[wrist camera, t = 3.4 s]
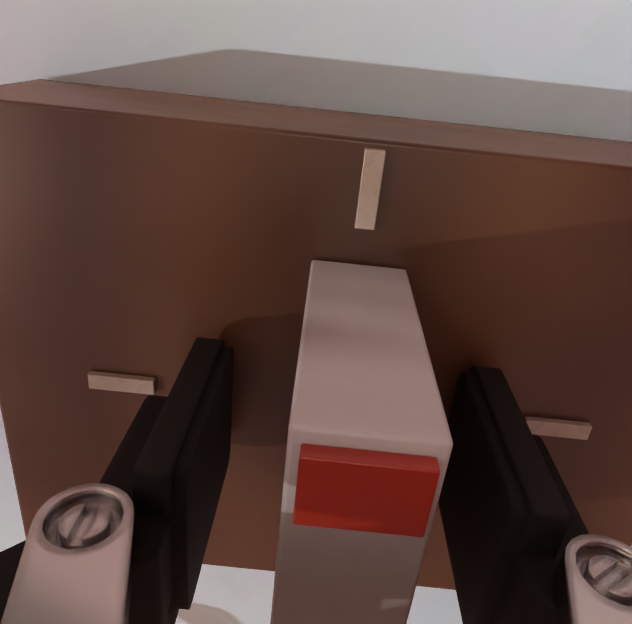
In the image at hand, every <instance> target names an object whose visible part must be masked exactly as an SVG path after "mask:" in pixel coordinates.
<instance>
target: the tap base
mask: <svg viewBox="0 0 632 624" xmlns="http://www.w3.org/2000/svg"><path fill="white" fill-rule="evenodd" d="M313 260H320V261H329V262H339V263H348V264H358V265H367V266H377V267H386V268H396V269H404V270H406V272H407V275H408V279H409V283H410V286H411V290H412V294H413V297H414V301H415V305H416V308H417V312H418V316H419V319H420V323H421V327H422V331H423V334H424V338H425V342H426V345H427V349H428V353H429V356H430V360H431V364H432V367H433V371H434V375H435V378H436V382H437V386H438V389H439V393H440V397H441V400H442V404H443V408H444V412H445V415H446V419H447V423H448V419H449V415H450V411H451V407H452V403H453V399H454V395H455V391H456V387H457V383H458V379H459V375H460V373H461V372H462V371H463V372H469V370H470V368H471V367H472V366H481V367H491V368H499V369H501V370H502V372H503V374H504V376H505V378H506V380H507V382H508V385H509V387H510V389H511V391H512V393H513V395H514V397H515V399H516V401H517V403H518V406H519V408H520V410H521V412H522V414H523V416H524V418H525V420H526V422H527V424H528V427H529V429H530V431H531V433H532V435H537V436H539V437H541V439H542V440H543V442H544V443H545V445H546V447H547V449H548V451H549V453H550V456H551V458H552V460H553V462H554V464H555V466H556V468H557V470H558V472H559V474H560V476H561V478H562V480H563V482H564V484H565V486H566V488H567V490H568V492H569V494H570V496H571V498H572V500H573V502H574V504H575V506H576V508H577V510H578V512H579V514H580V516H581V518H582V520H583V522H584V524H585V526H586V528H587V530H588V532H589V534H597V535H602V536H608V537H610V538H613V539H616V540H618V541H621V542H623V543H625V544H626V545H628V546H630V547H631V545H632V142H625V141H616V140H606V139H597V138H587V137H578V136H569V135H559V134H550V133H540V132H531V131H522V130H512V129H503V128H493V127H484V126H474V125H465V124H456V123H446V122H437V121H427V120H418V119H409V118H399V117H390V116H380V115H371V114H362V113H352V112H343V111H333V110H324V109H314V108H305V107H296V106H286V105H277V104H267V103H258V102H249V101H239V100H230V99H220V98H211V97H202V96H192V95H183V94H173V93H164V92H154V91H145V90H136V89H126V88H117V87H107V86H98V85H89V84H79V83H70V82H60V81H51V80H42V79H39V80H32V81H25V82H18V83H11V84H4V85H0V407H1V412H2V417H3V422H4V428H5V433H6V438H7V443H8V448H9V453H10V458H11V463H12V469H13V474H14V479H15V484H16V489H17V494H18V499H19V505H20V510H21V515H22V520H23V525H24V530H25V535H26V539H27V536H28V533H29V529H30V526H31V523H32V521H33V519H34V517H35V515H36V513H37V511H38V510H39V509H40V508H41V507H42V506H43V505H44V503H45V502H46V501H47V500H49V499H50V498H52V497H53V496H55V495H56V494H58V493H60V492H61V491H64V490H66V489H69V488H71V487H74V486H77V485H83V484H89V483H99V482H100V480H101V479H102V477H103V475H104V473H105V471H106V469H107V468H108V466H109V464H110V462H111V460H112V458H113V457H114V455H115V453H116V451H117V449H118V447H119V446H120V444H121V442H122V440H123V438H124V436H125V434H126V433H127V431H128V429H129V427H130V425H131V423H132V422H133V420H134V418H135V416H136V414H137V412H138V411H139V409H140V407H141V405H142V403H143V401H144V400H145V398H146V397H147V396H149V395H157V396H166V397H168V395H169V393H170V391H171V389H172V387H173V385H174V382H175V380H176V378H177V376H178V374H179V372H180V370H181V368H182V366H183V364H184V362H185V360H186V358H187V356H188V354H189V351H190V349H191V347H192V345H193V343H194V341H195V339H196V338H197V337H203V338H213V339H222V340H224V342H225V347H232V348H233V349H234V362H233V391H232V421H231V449H230V458H229V464H228V468H227V472H226V476H225V480H224V483H223V487H222V491H221V495H220V499H219V502H218V506H217V510H216V514H215V517H214V521H213V525H212V529H211V532H210V536H209V540H208V544H207V547H206V551H205V555H204V559H203V563H202V564H209V565H219V566H229V567H238V568H248V569H258V570H268V571H275V569H276V558H277V548H278V537H279V526H280V515H281V504H282V493H283V482H284V471H285V460H286V449H287V438H288V427H289V420H290V413H291V405H292V398H293V391H294V384H295V376H296V369H297V362H298V355H299V347H300V340H301V333H302V326H303V318H304V311H305V304H306V296H307V289H308V282H309V275H310V267H311V262H312V261H313ZM416 586H424V587H434V588H443V589H453V590H456V587H455V582H454V577H453V573H452V568H451V563H450V558H449V553H448V548H447V543H446V538H445V533H444V529H443V524H442V519H441V514H440V509H439V504H437V508H436V512H435V516H434V519H433V523H432V527H431V531H430V535H429V538H428V542H427V546H426V550H425V554H424V558H423V561H422V565H421V569H420V573H419V577H418V580H417V584H416Z"/></svg>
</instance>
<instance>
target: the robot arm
mask: <svg viewBox="0 0 632 624" xmlns="http://www.w3.org/2000/svg"><path fill="white" fill-rule="evenodd" d="M233 362H234V349H233V348H232V347H225V342H224V340H222V339H213V338H203V337H197V338H196V339H195V341H194V343H193V345H192V347H191V349H190V351H189V354H188V356H187V358H186V360H185V362H184V364H183V366H182V368H181V370H180V372H179V374H178V376H177V378H176V380H175V382H174V385H173V387H172V389H171V391H170V393H169V395H168V397H166V396H157V395H149V396H147V397H146V398H145V400H144V401H143V403H142V405H141V407H140V409H139V411H138V412H137V414H136V416H135V418H134V420H133V422H132V423H131V425H130V427H129V429H128V431H127V433H126V434H125V436H124V438H123V440H122V442H121V444H120V446H119V447H118V449H117V451H116V453H115V455H114V457H113V458H112V460H111V462H110V464H109V466H108V468H107V469H106V471H105V473H104V475H103V477H102V479H101V480H100V482H99V483H89V484H83V485H77V486H74V487H71V488H69V489H66V490H64V491H61V492H60V493H58V494H56V495H55V496H53V497H52V498H50V499H49V500H47V501H46V502H45V503H44V505H43V506H42V507H41V508H40V509H39V510H38V511H37V513H36V515H35V517H34V519H33V521H32V523H31V526H30V529H29V533H28V536H27V539H26V540H25V541H23V542H21V543H19V544H17V545H15V546H13V547H11V548H8V549H6V550H4V551H2V552H0V624H175V621H176V618H177V614H178V611H179V609H188V610H189V609H190V606H191V604H192V600H193V596H194V593H195V589H196V585H197V581H198V578H199V574H200V570H201V566H202V563H203V559H204V555H205V551H206V547H207V544H208V540H209V536H210V532H211V529H212V525H213V521H214V517H215V514H216V510H217V506H218V502H219V499H220V495H221V491H222V487H223V483H224V480H225V476H226V472H227V468H228V464H229V458H230V449H231V421H232V391H233ZM448 426H449V430H450V434H451V437H452V441H453V447H452V451H451V454H450V458H449V462H448V466H447V470H446V474H445V477H444V481H443V485H442V489H441V493H440V496H439V500H438V504H439V509H440V514H441V519H442V524H443V529H444V533H445V538H446V543H447V548H448V553H449V558H450V563H451V568H452V573H453V577H454V582H455V587H456V592H457V597H458V602H459V607H460V612H461V616H462V621H463V624H632V548H631V547H630V546H628V545H626V544H625V543H623V542H621V541H618V540H616V539H613V538H610V537H608V536H602V535H597V534H589V532H588V530H587V528H586V526H585V524H584V522H583V520H582V518H581V516H580V514H579V512H578V510H577V508H576V506H575V504H574V502H573V500H572V498H571V496H570V494H569V492H568V490H567V488H566V486H565V484H564V482H563V480H562V478H561V476H560V474H559V472H558V470H557V468H556V466H555V464H554V462H553V460H552V458H551V456H550V453H549V451H548V449H547V447H546V445H545V443H544V442H543V440H542V439H541V437H539V436H537V435H532V433H531V431H530V429H529V427H528V424H527V422H526V420H525V418H524V416H523V414H522V412H521V410H520V408H519V406H518V403H517V401H516V399H515V397H514V395H513V393H512V391H511V389H510V387H509V385H508V382H507V380H506V378H505V376H504V374H503V372H502V370H501V369H499V368H491V367H481V366H472V367H471V368H470V370H469V372H463V371H462V372H461V373H460V375H459V379H458V383H457V387H456V391H455V395H454V399H453V403H452V407H451V411H450V415H449V419H448Z"/></svg>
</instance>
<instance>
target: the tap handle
mask: <svg viewBox="0 0 632 624" xmlns="http://www.w3.org/2000/svg"><path fill="white" fill-rule="evenodd" d="M452 447H453V441H452V437H451V434H450V430H449V426H448V423H447V419H446V415H445V412H444V408H443V404H442V400H441V397H440V393H439V389H438V386H437V382H436V378H435V375H434V371H433V367H432V364H431V360H430V356H429V353H428V349H427V345H426V342H425V338H424V334H423V331H422V327H421V323H420V319H419V316H418V312H417V308H416V305H415V301H414V297H413V294H412V290H411V286H410V283H409V279H408V275H407V272H406V270H404V269H396V268H386V267H377V266H367V265H358V264H348V263H339V262H329V261H320V260H313V261H312V262H311V267H310V275H309V282H308V289H307V296H306V304H305V311H304V318H303V326H302V333H301V340H300V347H299V355H298V362H297V369H296V376H295V384H294V391H293V398H292V405H291V413H290V420H289V427H288V438H287V449H286V460H285V471H284V482H283V493H282V504H281V515H280V526H279V537H278V548H277V558H276V569H275V580H274V591H273V602H272V613H271V624H406V622H407V619H408V615H409V611H410V607H411V603H412V600H413V596H414V592H415V588H416V584H417V580H418V577H419V573H420V569H421V565H422V561H423V558H424V554H425V550H426V546H427V542H428V538H429V535H430V531H431V527H432V523H433V519H434V516H435V512H436V508H437V504H438V500H439V496H440V493H441V489H442V485H443V481H444V477H445V474H446V470H447V466H448V462H449V458H450V454H451V451H452Z"/></svg>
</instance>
